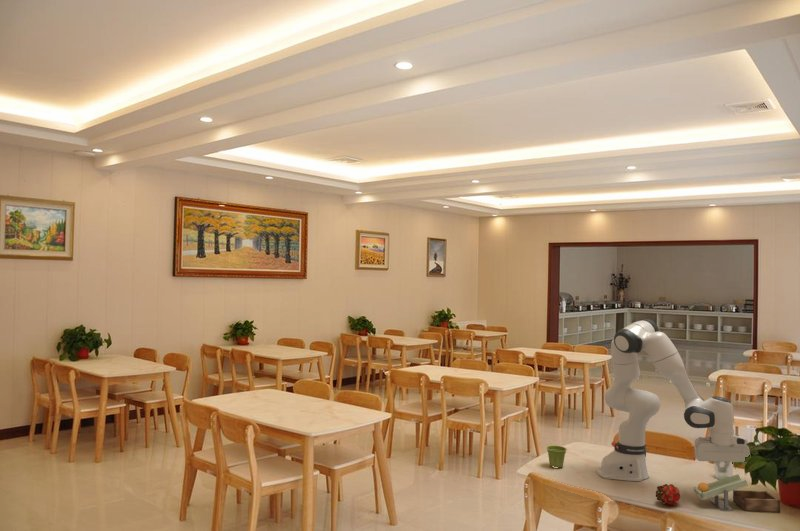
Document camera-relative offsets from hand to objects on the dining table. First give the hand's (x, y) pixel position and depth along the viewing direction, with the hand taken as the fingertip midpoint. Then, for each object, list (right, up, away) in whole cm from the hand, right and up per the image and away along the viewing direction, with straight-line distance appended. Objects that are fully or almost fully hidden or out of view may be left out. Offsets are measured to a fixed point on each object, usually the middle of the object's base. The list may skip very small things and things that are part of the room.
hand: (722, 472), depth 246 cm
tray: (+9, -11, -7) cm, 16 cm away
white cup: (+15, -12, +27) cm, 33 cm away
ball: (-10, -4, -6) cm, 13 cm away
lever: (-3, -5, -3) cm, 7 cm away
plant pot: (-56, -12, +42) cm, 71 cm away
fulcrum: (-4, -11, -6) cm, 13 cm away
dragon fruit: (-24, -11, -5) cm, 27 cm away
